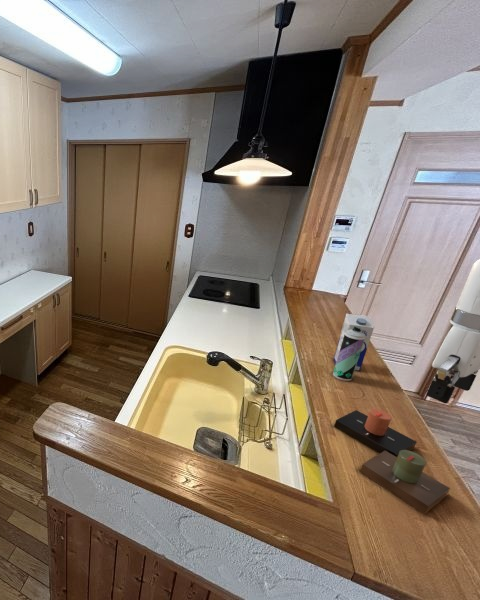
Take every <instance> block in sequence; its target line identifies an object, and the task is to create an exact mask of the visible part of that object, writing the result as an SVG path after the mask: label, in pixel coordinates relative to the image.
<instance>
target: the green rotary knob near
mask: <svg viewBox="0 0 480 600" xmlns="http://www.w3.org/2000/svg"><path fill="white" fill-rule="evenodd" d="M426 466H427V461H426V459H425V458H424V457H423V456H421V455H420V454H418V453H416V452H415V451H412V450H411V451H408V450H401V451H400V452H399V454H398V456H397V459H396V461H395V464H394V466H393V468H392V472H393V473H394V475H395V476H397V477H398V478H399V479H401V480H403V481H405V482H408V483H417V482H418V480H419V478H420V476H421V474H422V472H423V473H424V469H425V468H426Z"/></svg>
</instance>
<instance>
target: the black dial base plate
mask: <svg viewBox="0 0 480 600" xmlns="http://www.w3.org/2000/svg"><path fill="white" fill-rule="evenodd" d="M367 418H368V415H367V414H365V413H362V412H361V411H359V410H357V409H356V410H352V411H351V412H348V413H347V414H345V415H343V416H341V417H339V418H337V419H336V420H335V422H334V425H333V427H334V428H336V429H337V430H339V431H341V432H342V433H344V434H346V435H347V436H349V437H351V438H353V439H354V440H355V441H356V442H357V441H358V442H359V443H361V444H362V445H364V446H366V447H367V448H369V449H371V450H373V451H374V452H376V453H377V454H380V453H382V452H383V451H387V452H389V453H390V454H392V455H394V456H395V457H397V456H398V454H399V452H400V451H401V450H408V451H411V452H412V451H413V450H414V449H415V447H416V445H417V441H416V440H414V439H412V438H410V437H409V436H407V435H405V434H403V433H401V432H399V431H398V430H395V429H394V428H391V427H390V426H388V429H387V431H386V434H385V435H384V436H378V435H375V434H372V433H370V432H369V431H367V430H366V429H365V427H364V426H365V423H366V420H367Z"/></svg>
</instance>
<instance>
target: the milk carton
mask: <svg viewBox="0 0 480 600" xmlns="http://www.w3.org/2000/svg"><path fill="white" fill-rule="evenodd" d="M354 326H359V327H360V330H361V331H362V333H364V334H365V339H364V343H363V346H362V349H361V352H360V355H359V358H358V361H357V364H356V368H355V371H356V372H361V368H362V366H363V362H364V360H365V356H366V353H367V350H368V348H369V345H370V341H371V338H372V335H373V332H374V329H375V325H374V323H373V321H372V318H371V317H370V315H361V314H354V313H353V314H352V313H345V318H344V321H343V324H342V328H341V331H340V334H339V338H338V341H337V345H336V349H335V352H334V356H333V361H334V364H336V362H337V358H338V355H339V351H340V348H341V345H342V341H343V338H344V334H345V332H346V331H347V330H351V329H353V328H354Z"/></svg>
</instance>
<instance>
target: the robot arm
mask: <svg viewBox="0 0 480 600" xmlns="http://www.w3.org/2000/svg"><path fill="white" fill-rule="evenodd" d="M449 323H450V324H451V325H452V327H450V329H449V331H448V332H447V334H446V335H445V337H444V340H443V341H442V343H441V345H440V347H439V349H438V351H437V353H436V355H435V357H434V360H433V362H432V363H431V367H432V368H433V369H437V372H436V373H435V374H434V376H433V378H432V380H431V382H430V385H429V387H428V389H427V392H426V396H427V397H429V398H431V399H433V400H436V401H438V402H441V403H443V404H448V403H450V401H451V397H452V396H453V393H454V391H455V389H456V388H458V389H460V390H462V391H465V392H466V391H467V392H468V391H470V390H471V388H472V386H473V385H474V382H475V381H476V378H477V373H479V370H480V258H479V259H477V260H476V261H474V263H473V265H472V266H471V269H470V272H469V274H468V277H467V279H466V281H465V284H464V285H463V288H462V291H461V294H460V296H459V298H458V301H457V303H456V305H455V308H454V310H453V312H452V315H451V317H450V320H449Z"/></svg>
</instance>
